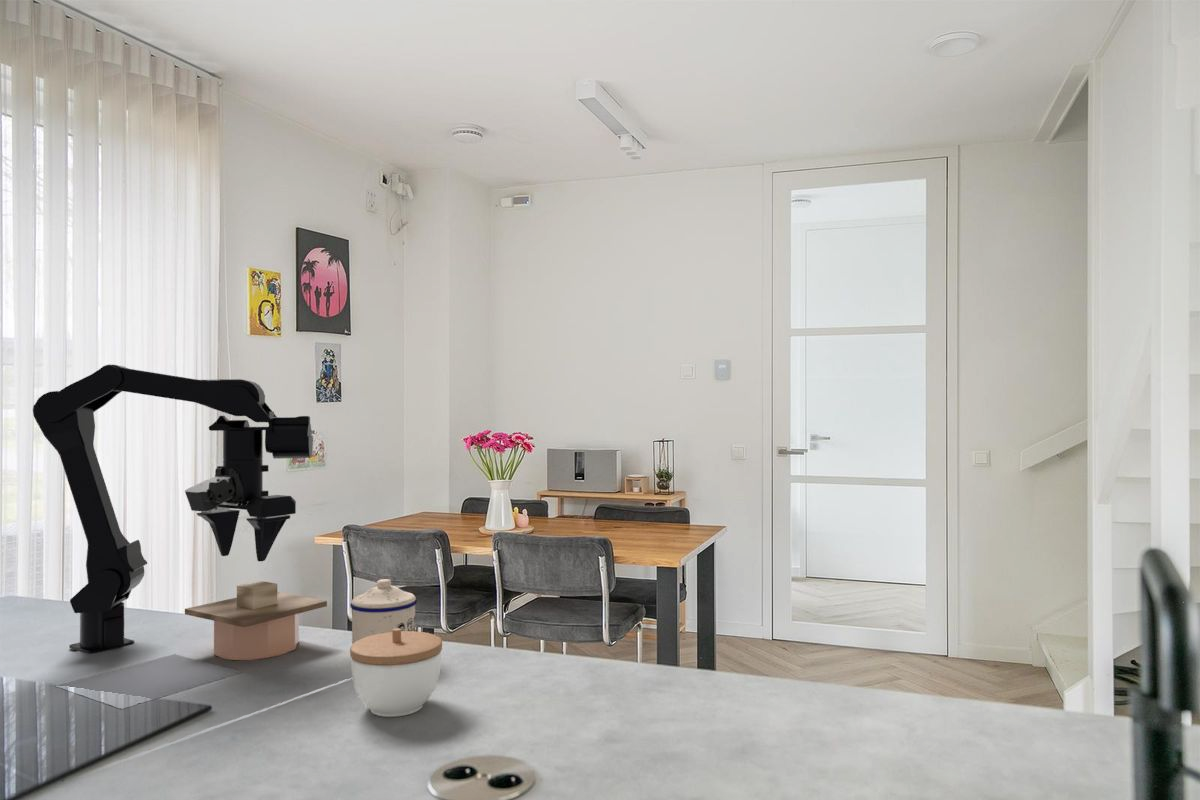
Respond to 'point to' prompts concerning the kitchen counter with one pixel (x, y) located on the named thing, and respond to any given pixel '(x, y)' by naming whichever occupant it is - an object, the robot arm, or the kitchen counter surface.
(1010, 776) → the kitchen counter surface
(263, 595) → the cover
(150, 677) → the mat
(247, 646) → the bowl
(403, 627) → the teacup with lid
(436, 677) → the lidded jar
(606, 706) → the kitchen counter surface
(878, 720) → the kitchen counter surface
